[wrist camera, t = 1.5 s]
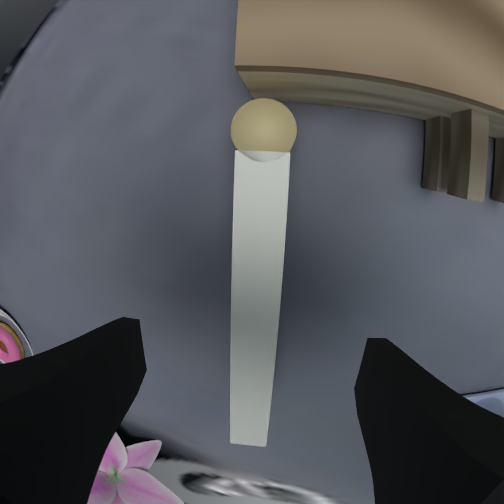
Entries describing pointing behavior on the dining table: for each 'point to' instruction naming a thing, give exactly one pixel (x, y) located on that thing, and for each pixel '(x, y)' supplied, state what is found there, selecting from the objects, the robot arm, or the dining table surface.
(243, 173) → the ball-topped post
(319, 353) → the dining table surface
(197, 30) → the dining table surface
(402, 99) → the cabinet
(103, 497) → the lily
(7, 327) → the donut
